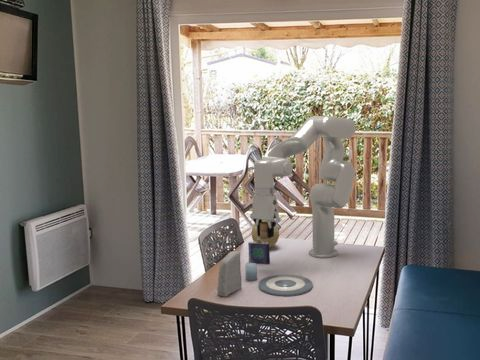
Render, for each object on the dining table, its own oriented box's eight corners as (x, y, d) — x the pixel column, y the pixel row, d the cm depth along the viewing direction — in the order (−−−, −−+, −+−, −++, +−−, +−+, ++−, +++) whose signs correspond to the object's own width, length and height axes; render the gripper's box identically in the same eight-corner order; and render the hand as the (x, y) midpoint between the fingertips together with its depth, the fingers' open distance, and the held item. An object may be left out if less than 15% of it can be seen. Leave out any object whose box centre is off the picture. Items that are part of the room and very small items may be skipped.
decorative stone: (228, 298, 186) (226, 257, 184) (214, 295, 189) (212, 255, 187) (244, 288, 195) (242, 249, 193) (230, 285, 198) (229, 247, 196)
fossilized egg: (282, 245, 248) (282, 214, 246) (274, 253, 237) (274, 220, 234) (257, 243, 253) (256, 212, 250) (248, 250, 241) (247, 219, 239)
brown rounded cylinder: (264, 235, 213) (263, 221, 212) (273, 236, 210) (272, 222, 209) (257, 238, 210) (257, 223, 209) (266, 239, 207) (266, 224, 206)
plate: (277, 273, 210) (277, 270, 210) (322, 283, 198) (322, 280, 198) (247, 289, 194) (247, 286, 194) (294, 300, 182) (294, 297, 182)
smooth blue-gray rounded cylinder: (250, 276, 207) (249, 262, 206) (259, 278, 205) (258, 263, 204) (243, 279, 204) (243, 265, 203) (252, 282, 201) (252, 267, 200)
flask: (248, 263, 224) (247, 238, 222) (250, 260, 227) (249, 236, 225) (269, 264, 221) (268, 240, 219) (270, 262, 224) (270, 238, 222)
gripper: (287, 191, 205) (288, 237, 208) (252, 187, 215) (254, 231, 218) (276, 194, 199) (278, 241, 202) (241, 191, 209) (243, 235, 212)
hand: (265, 235), depth 210 cm, fingers closed on brown rounded cylinder, 4 cm apart
